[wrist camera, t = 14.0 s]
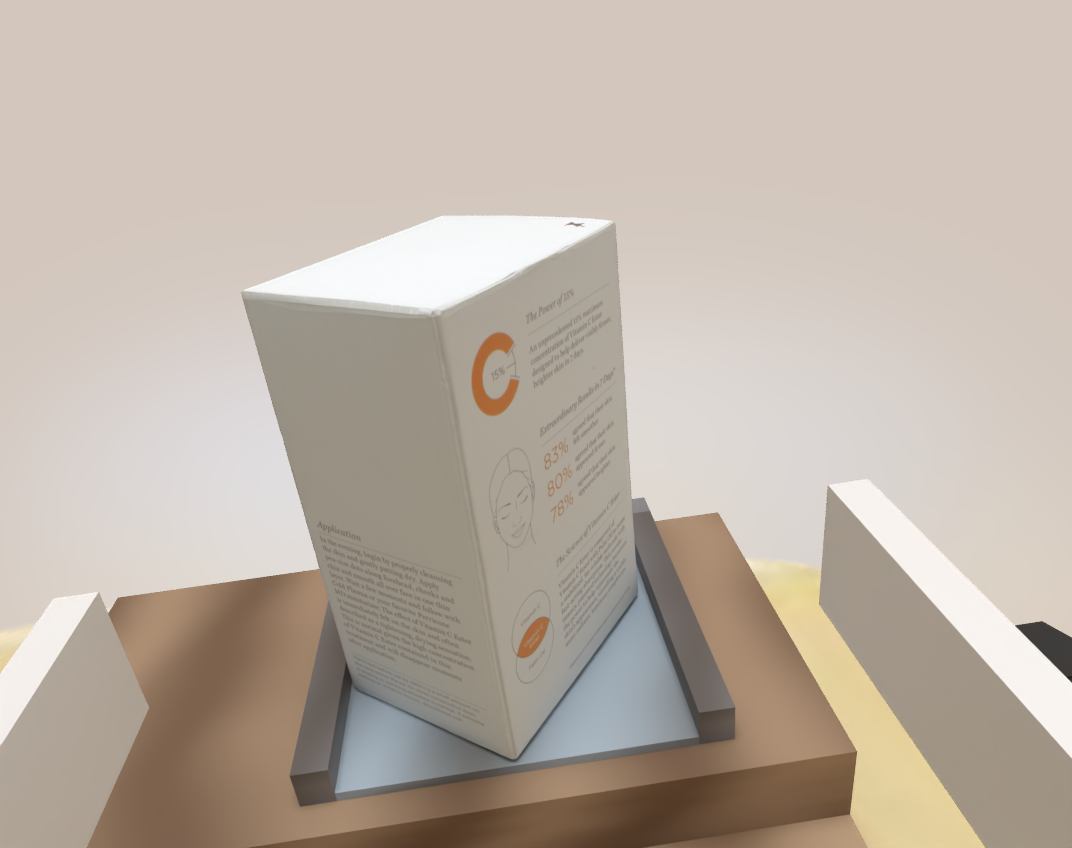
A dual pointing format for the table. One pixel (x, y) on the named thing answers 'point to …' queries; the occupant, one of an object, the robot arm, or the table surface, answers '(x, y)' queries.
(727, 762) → the dock
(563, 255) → the small box
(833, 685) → the table surface
